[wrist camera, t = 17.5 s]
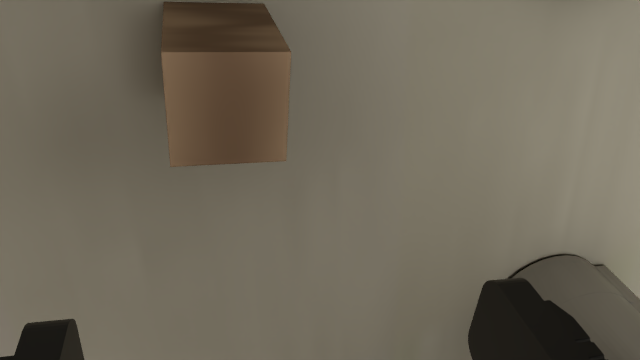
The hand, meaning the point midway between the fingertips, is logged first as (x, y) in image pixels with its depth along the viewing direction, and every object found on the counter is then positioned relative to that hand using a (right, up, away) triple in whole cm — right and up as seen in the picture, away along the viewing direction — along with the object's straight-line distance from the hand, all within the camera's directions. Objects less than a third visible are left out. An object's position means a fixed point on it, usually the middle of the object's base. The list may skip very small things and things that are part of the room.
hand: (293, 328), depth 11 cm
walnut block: (-4, +9, +15) cm, 18 cm away
